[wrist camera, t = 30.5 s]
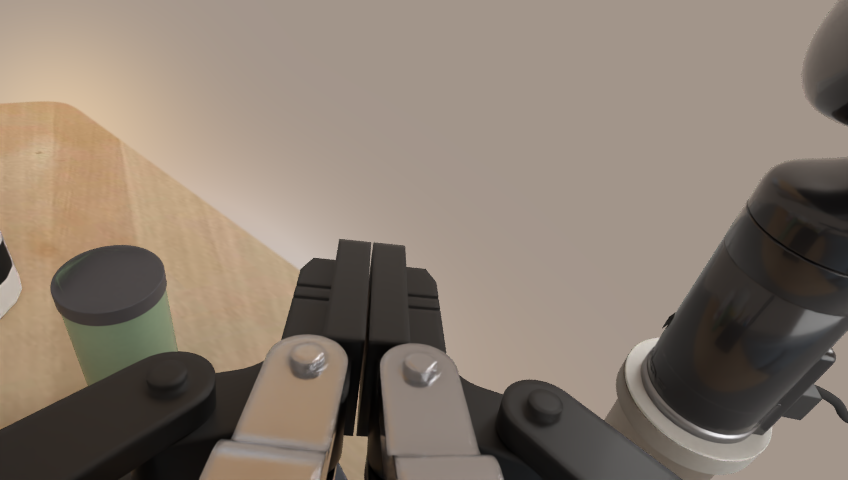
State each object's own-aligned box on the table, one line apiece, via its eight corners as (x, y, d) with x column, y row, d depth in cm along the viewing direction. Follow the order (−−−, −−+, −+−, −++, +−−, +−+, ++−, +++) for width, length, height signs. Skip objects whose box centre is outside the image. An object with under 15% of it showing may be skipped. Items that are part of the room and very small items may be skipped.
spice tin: (201, 382, 39) (182, 255, 31) (163, 450, 34) (130, 322, 27) (128, 366, 39) (91, 236, 31) (81, 433, 34) (25, 301, 27)
